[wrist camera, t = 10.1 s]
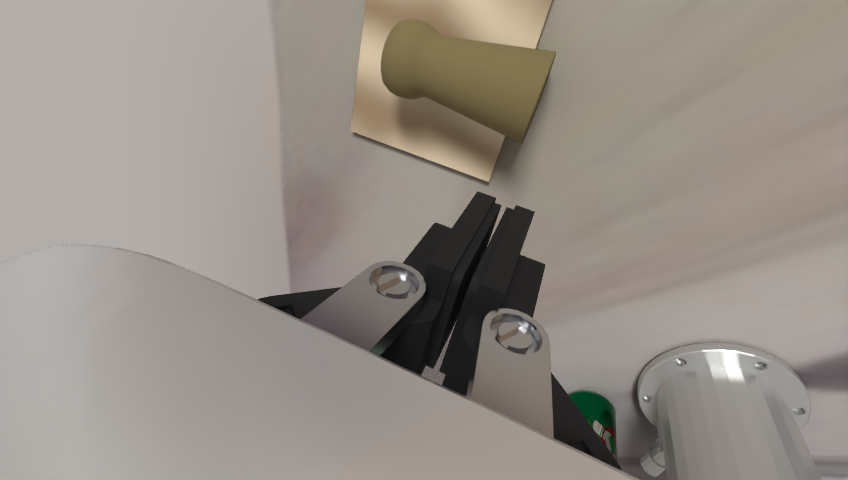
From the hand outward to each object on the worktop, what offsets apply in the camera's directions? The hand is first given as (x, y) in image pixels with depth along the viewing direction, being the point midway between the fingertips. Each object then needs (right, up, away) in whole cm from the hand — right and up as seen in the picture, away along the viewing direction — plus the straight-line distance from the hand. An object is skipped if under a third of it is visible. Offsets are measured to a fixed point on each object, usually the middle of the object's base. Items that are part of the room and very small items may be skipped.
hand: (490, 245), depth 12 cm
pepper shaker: (+6, +9, +16) cm, 19 cm away
